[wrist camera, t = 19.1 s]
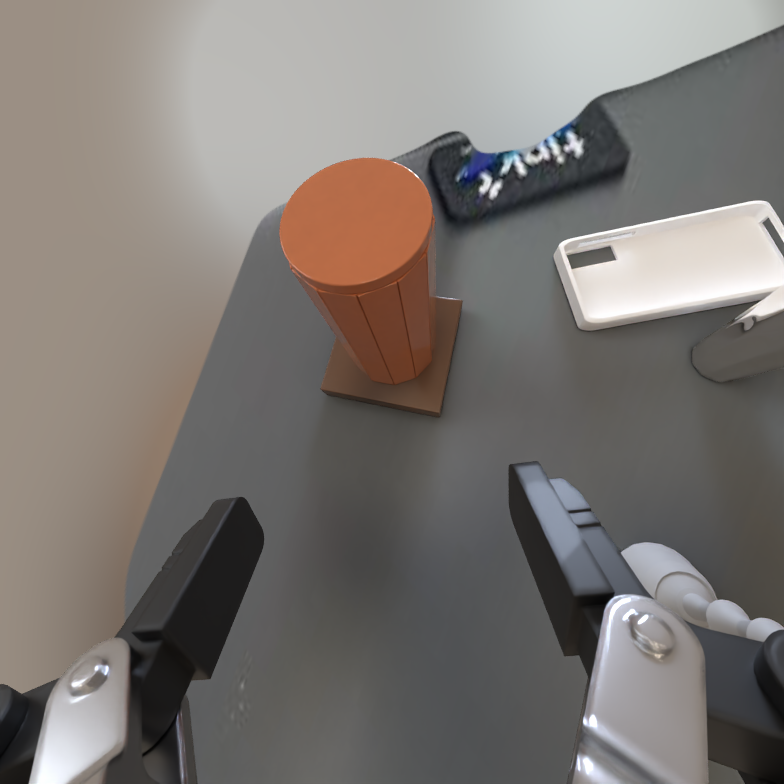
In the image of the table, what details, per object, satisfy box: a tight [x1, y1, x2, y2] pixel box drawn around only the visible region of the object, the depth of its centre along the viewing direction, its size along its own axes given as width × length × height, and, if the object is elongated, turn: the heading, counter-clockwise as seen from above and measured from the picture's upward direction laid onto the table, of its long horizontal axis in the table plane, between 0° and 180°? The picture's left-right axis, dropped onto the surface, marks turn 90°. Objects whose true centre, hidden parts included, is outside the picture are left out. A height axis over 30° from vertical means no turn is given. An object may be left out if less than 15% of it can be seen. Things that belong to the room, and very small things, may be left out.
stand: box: [321, 297, 463, 417], centre depth 20 cm, size 9×9×12 cm
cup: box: [280, 158, 436, 385], centre depth 18 cm, size 6×6×12 cm
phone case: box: [553, 201, 784, 331], centre depth 24 cm, size 7×1×15 cm
